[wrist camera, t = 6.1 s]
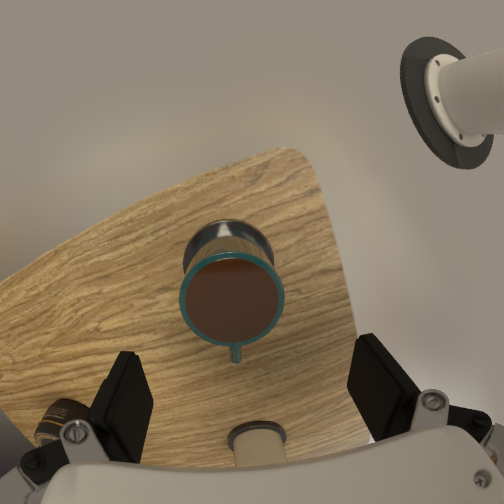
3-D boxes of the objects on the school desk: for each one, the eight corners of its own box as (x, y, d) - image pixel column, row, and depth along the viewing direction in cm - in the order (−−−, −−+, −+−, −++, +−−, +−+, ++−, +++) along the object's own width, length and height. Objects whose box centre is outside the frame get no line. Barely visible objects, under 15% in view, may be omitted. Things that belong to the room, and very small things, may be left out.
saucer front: (257, 206, 24) (259, 207, 23) (282, 287, 26) (284, 291, 25) (171, 236, 24) (169, 238, 23) (202, 314, 26) (202, 317, 25)
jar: (123, 440, 30) (113, 479, 23) (76, 438, 30) (63, 471, 23) (86, 394, 28) (66, 434, 20) (40, 395, 27) (20, 428, 20)
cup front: (187, 231, 23) (172, 255, 16) (265, 226, 24) (285, 248, 16) (198, 328, 26) (192, 380, 18) (267, 323, 26) (283, 373, 19)
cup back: (225, 435, 30) (228, 481, 23) (274, 423, 30) (285, 469, 23) (248, 465, 33) (253, 504, 25) (290, 454, 33) (300, 493, 26)
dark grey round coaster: (277, 414, 31) (278, 418, 30) (290, 443, 33) (291, 447, 32) (218, 429, 31) (218, 433, 30) (238, 456, 33) (239, 460, 32)
